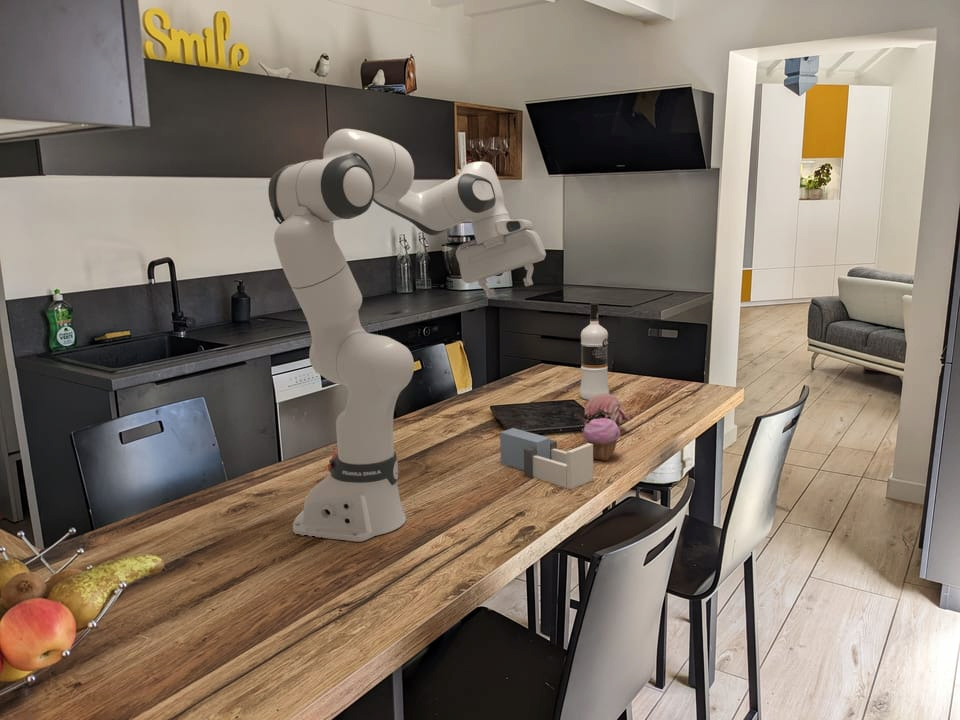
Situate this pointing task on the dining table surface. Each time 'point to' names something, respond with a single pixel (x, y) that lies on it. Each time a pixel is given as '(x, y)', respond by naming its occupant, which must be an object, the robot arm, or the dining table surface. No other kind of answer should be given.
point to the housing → (561, 465)
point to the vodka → (594, 357)
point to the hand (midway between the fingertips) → (510, 291)
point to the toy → (604, 409)
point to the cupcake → (602, 437)
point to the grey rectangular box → (521, 446)
